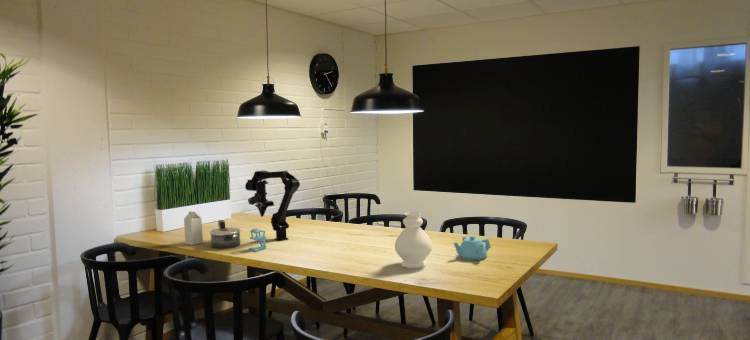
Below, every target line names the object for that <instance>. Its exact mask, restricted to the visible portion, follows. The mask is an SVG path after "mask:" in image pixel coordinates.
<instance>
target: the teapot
mask: <svg viewBox="0 0 750 340" xmlns="http://www.w3.org/2000/svg"><path fill="white" fill-rule="evenodd" d="M453 245H454V248H455V250H456V253H457V254H458V256H459V257H460V258H461V259H462V260H466V261H481V260H483V259H485V258H486V257H487V256H488V255H487V252H488V251H490V249H491V244H490V240H489V238H488V237H485V238H482V239H481V238H478V237H476V236H475V235H469V237H467V236H462V242H461V243H460V245H459V244H458V242H454V243H453Z"/></svg>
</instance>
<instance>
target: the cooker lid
mask: <svg viewBox="0 0 750 340" xmlns="http://www.w3.org/2000/svg"><path fill="white" fill-rule="evenodd" d="M217 222H218V223H217V225H218V226H217V227H218V228H214V229H211V230H210V231H209V232H210V236H211V235H212V236H229V235H235V234H238V233H241V229H240V228H239V227H226V221H224V220H223V219H220V220H217Z"/></svg>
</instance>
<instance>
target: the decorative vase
mask: <svg viewBox="0 0 750 340" xmlns="http://www.w3.org/2000/svg"><path fill="white" fill-rule="evenodd" d="M421 215H422V213H421V212H418V211H408V212H405V213H404V216H406V217H404V218H403V220H402V224H403V225H404V226H405V228H404V229H403V230H402V231H401V232H400V233H399V235H398V236H397V238H396V239H395V243H394V250H395V252H396V253H397V255H398V256H399V258H401V260H402V261H401V262H400V267H403V268H408V269H420V268H424V267H426V266H428V263H427V261H425V260H426V259H427V258H428V256H429V255H430V253H431V252H432V250H433V243H432V239H431V238H430V237H429V235H428V234H427V233H426V232H425V231H424V229H423V228H422V227H421V226H422V225H423V223H424V221H423V219H422V218H421Z"/></svg>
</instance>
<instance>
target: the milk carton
mask: <svg viewBox="0 0 750 340" xmlns="http://www.w3.org/2000/svg"><path fill="white" fill-rule="evenodd" d="M202 223H203V222H202V217H201V216H199V214H198V213H197V212H196V211H188V213H187V215H186V216H185V217H184V220H183V224H184V239H185V244H186V245H189V246H194V245H199V244H203V243H204V241H203V224H202Z"/></svg>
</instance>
